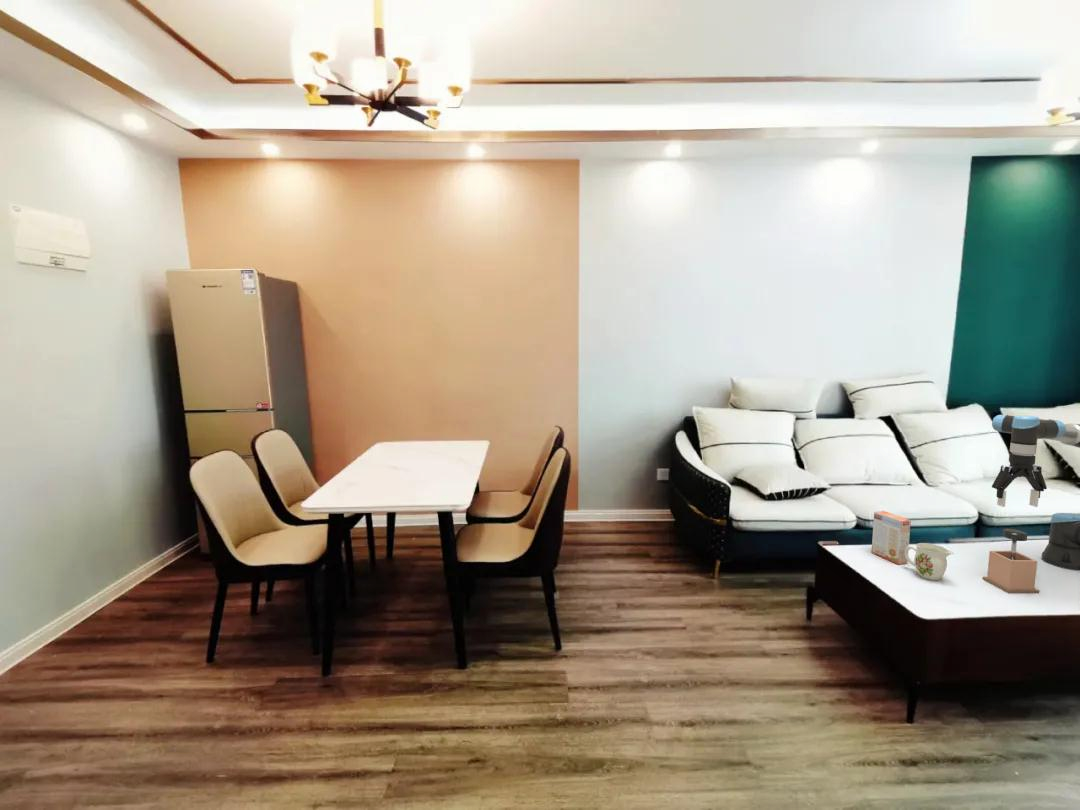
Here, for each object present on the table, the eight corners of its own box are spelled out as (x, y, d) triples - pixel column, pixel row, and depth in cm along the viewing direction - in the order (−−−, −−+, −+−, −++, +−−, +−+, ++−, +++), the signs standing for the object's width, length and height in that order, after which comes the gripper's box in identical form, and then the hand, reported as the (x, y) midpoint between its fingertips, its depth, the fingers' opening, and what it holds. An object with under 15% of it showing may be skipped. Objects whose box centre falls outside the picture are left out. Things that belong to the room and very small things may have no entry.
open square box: (1011, 579, 207) (1014, 549, 205) (1039, 593, 195) (1042, 562, 193) (982, 579, 207) (985, 549, 206) (1008, 593, 195) (1011, 562, 194)
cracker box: (908, 563, 223) (911, 519, 220) (897, 565, 222) (900, 521, 219) (881, 551, 236) (884, 510, 234) (870, 552, 235) (873, 511, 233)
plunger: (1012, 563, 204) (1016, 528, 202) (1030, 571, 196) (1034, 535, 194) (994, 563, 204) (997, 528, 202) (1010, 571, 196) (1014, 535, 195)
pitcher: (911, 565, 221) (913, 536, 220) (958, 582, 205) (960, 550, 204) (896, 569, 217) (898, 540, 215) (943, 587, 201) (946, 555, 199)
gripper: (1044, 451, 198) (1039, 502, 201) (983, 452, 199) (978, 502, 202) (1063, 455, 191) (1057, 508, 193) (999, 456, 192) (994, 508, 194)
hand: (1017, 505), depth 197 cm, fingers open, 12 cm apart
